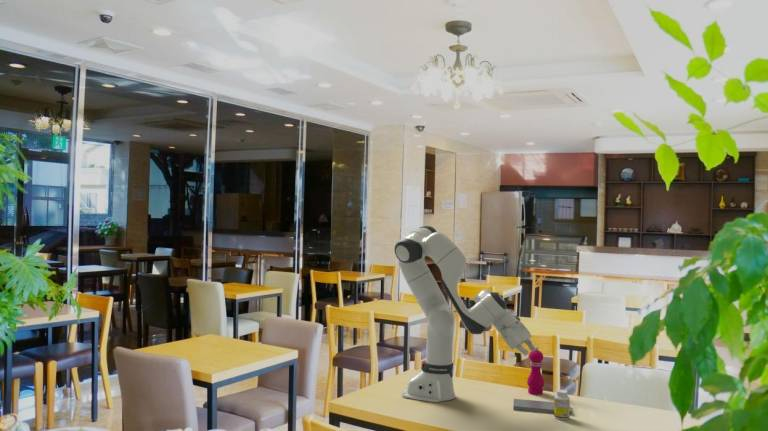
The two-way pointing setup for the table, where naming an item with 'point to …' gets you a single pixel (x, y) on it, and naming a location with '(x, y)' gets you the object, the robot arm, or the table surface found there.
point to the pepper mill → (535, 373)
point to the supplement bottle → (561, 405)
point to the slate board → (535, 406)
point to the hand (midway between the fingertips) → (530, 352)
